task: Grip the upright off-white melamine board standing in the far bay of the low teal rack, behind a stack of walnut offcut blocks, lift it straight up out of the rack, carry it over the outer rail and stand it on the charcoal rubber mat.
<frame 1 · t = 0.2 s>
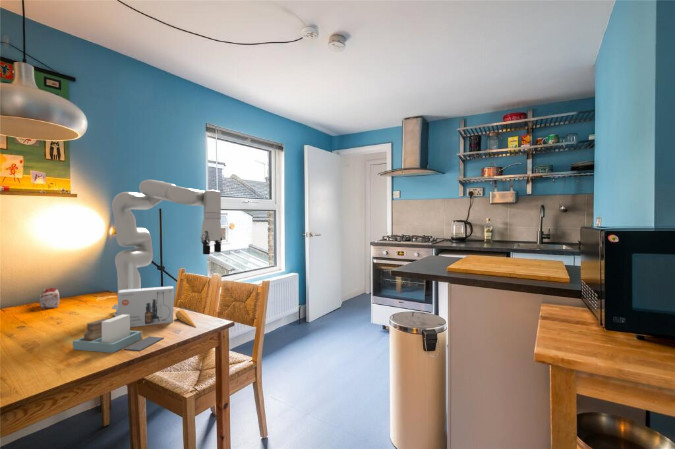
hand: (212, 253, 148), 31 cm above the table, tool pointing down, fingers open, 9 cm apart
white upright slab: (116, 344, 118), resting in rack
offcut bottom: (98, 344, 119), resting in rack, touching offcut middle
food item: (49, 307, 167), on the table
rack: (108, 343, 118), on the table
offcut middle: (97, 336, 119), point 3 cm above the table, touching offcut bottom, offcut top
mat: (144, 343, 118), on the table
skincare box: (146, 324, 141), on the table
carrot: (186, 323, 143), on the table
offcut top: (98, 328, 119), point 6 cm above the table, touching offcut middle
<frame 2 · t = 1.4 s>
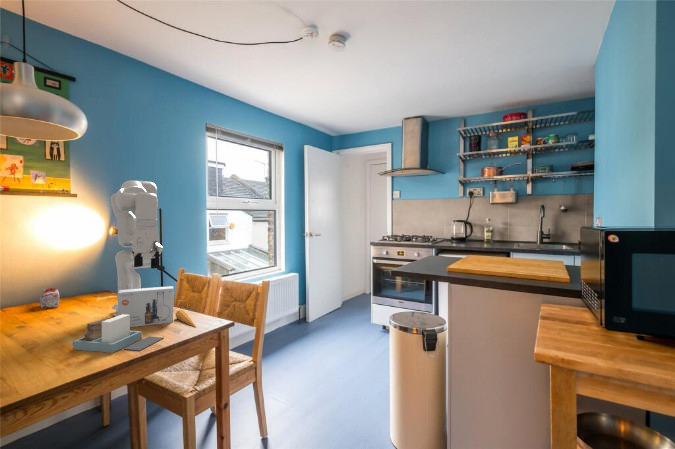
hand: (146, 267, 125), 28 cm above the table, tool pointing down, fingers open, 9 cm apart
nothing on the table moved.
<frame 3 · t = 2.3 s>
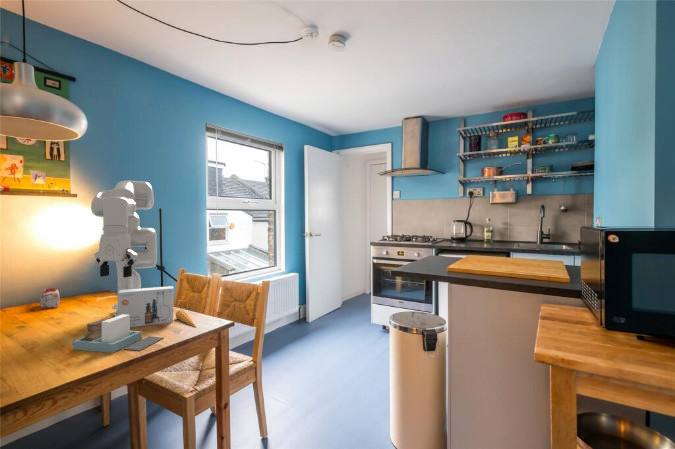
hand: (116, 276, 117), 26 cm above the table, tool pointing down, fingers open, 9 cm apart
nothing on the table moved.
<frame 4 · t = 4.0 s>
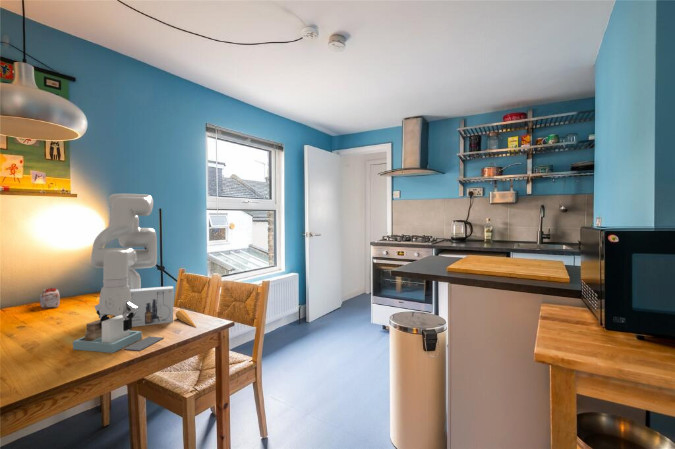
hand: (116, 329, 117), 6 cm above the table, tool pointing down, fingers open, 9 cm apart
offcut middle: (98, 336, 119), point 3 cm above the table, touching offcut bottom
offcut top: (98, 328, 119), point 6 cm above the table, touching gripper
everything else where it was.
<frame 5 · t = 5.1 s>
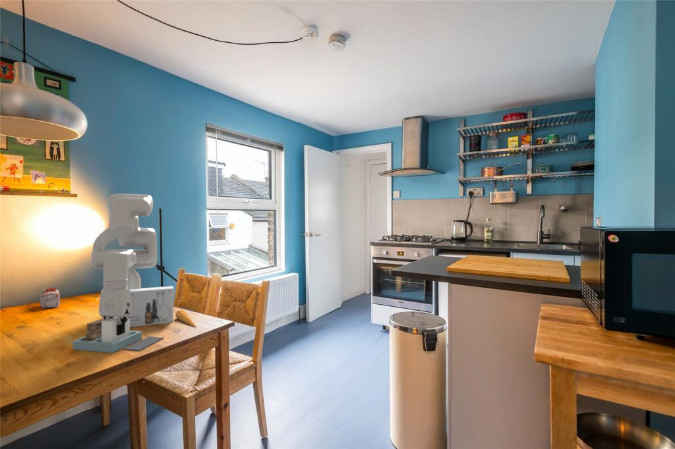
hand: (116, 333, 117), 4 cm above the table, tool pointing down, fingers closed on white upright slab, 3 cm apart
white upright slab: (116, 344, 118), resting in rack, touching gripper
offcut middle: (99, 335, 119), point 3 cm above the table, touching offcut bottom, offcut top
offcut top: (98, 327, 119), point 6 cm above the table, touching offcut middle
everything else where it was.
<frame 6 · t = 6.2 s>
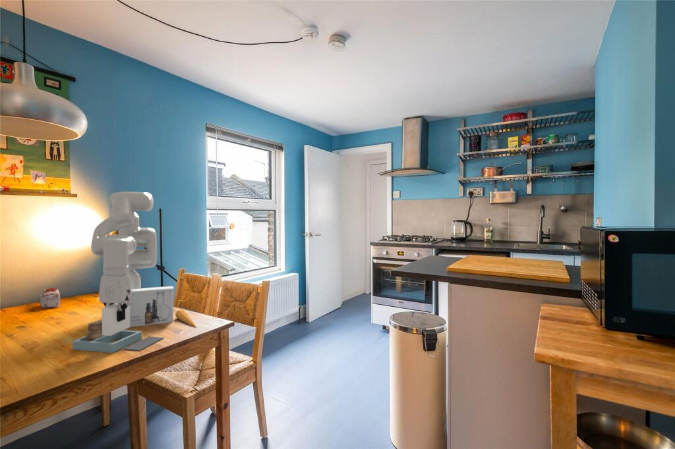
hand: (116, 319, 118), 9 cm above the table, tool pointing down, fingers closed on white upright slab, 3 cm apart
white upright slab: (116, 330, 118), point 5 cm above the table, touching gripper
everything else where it was.
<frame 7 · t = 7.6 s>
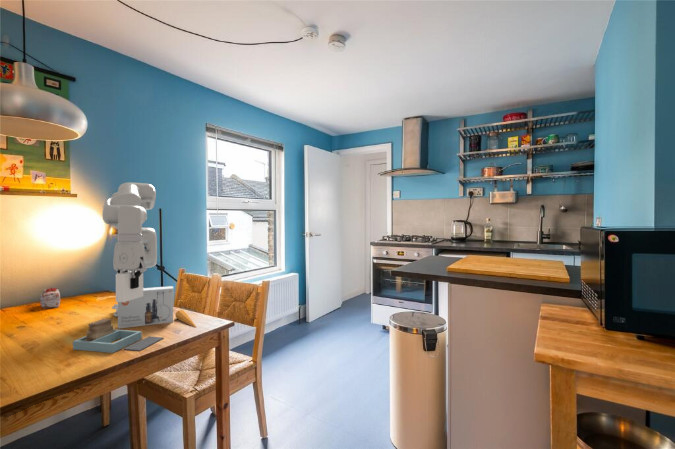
hand: (130, 287, 118), 21 cm above the table, tool pointing down, fingers closed on white upright slab, 3 cm apart
white upright slab: (130, 298, 118), point 17 cm above the table, touching gripper
everything else where it was.
when the fingers open (5 cm above the table, at t = 11.7 s): white upright slab stays where it is, resting on mat.
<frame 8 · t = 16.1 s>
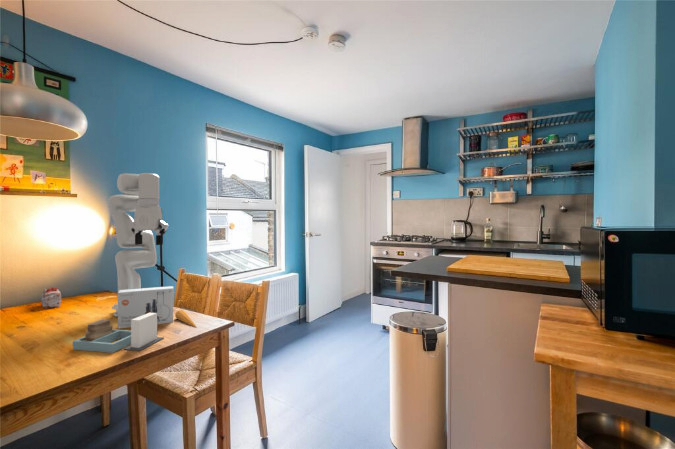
hand: (149, 244, 131), 36 cm above the table, tool pointing down, fingers open, 9 cm apart
white upright slab: (144, 342, 118), resting on mat
at the end: white upright slab 0.1 cm from the mat (horizontally); white upright slab tilted 0°; the gripper is holding nothing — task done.
